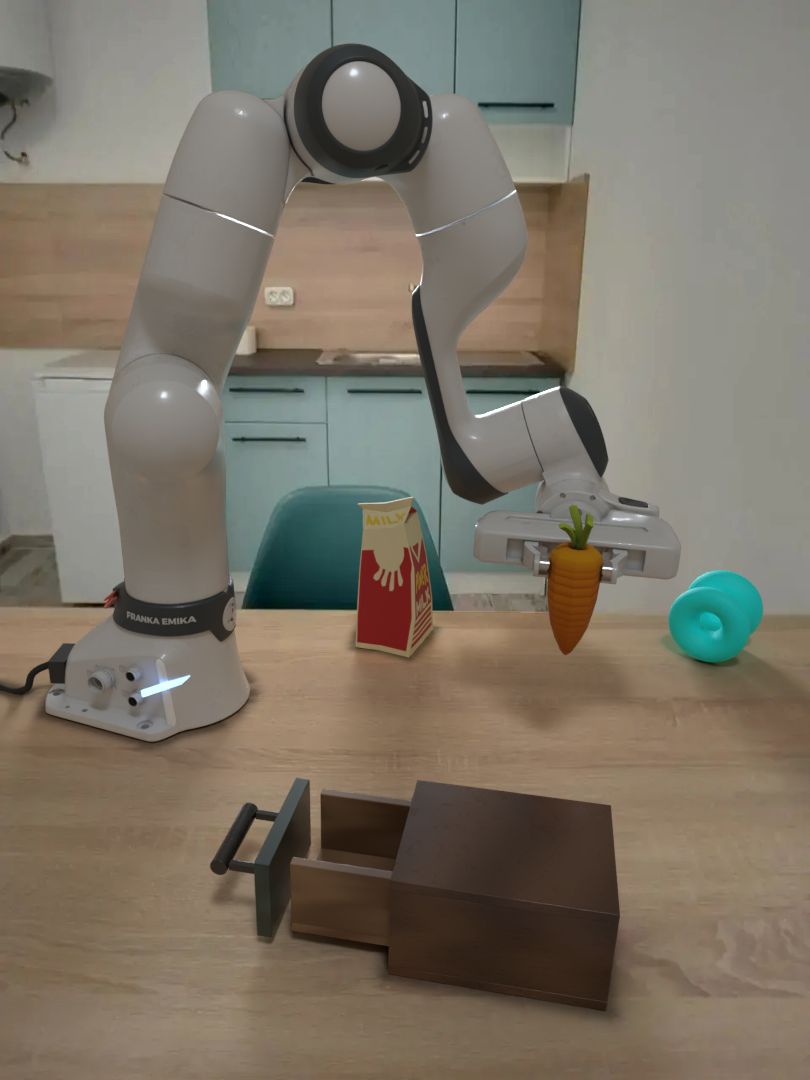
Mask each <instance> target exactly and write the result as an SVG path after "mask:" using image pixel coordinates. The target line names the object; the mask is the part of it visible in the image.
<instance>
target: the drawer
mask: <svg viewBox="0 0 810 1080" xmlns="http://www.w3.org/2000/svg"><path fill="white" fill-rule="evenodd" d="M319 795H320V799H319V800H320V846H321V847H320V850H319V853H318V855H317V858H316V859H310V858H307V855H308V853H309V850H310V848H311V846H312V831H311V830H312V829H311V780H310V779H309V778H303V777H295V779H294V781H293V783H292V786H291V787H290V789H289V791H288V793H287V796H286V798H285V800H284V802H283V803H282V806H281V808H280V810H279V812H278V811H271V810H265V809H259V807H258V806H257V805H256V803H253V802H245V803H243V805H242V807H241V808H240V810H239V812H238V814H237V815H236V817H235V819H234V821H233V823H232V824H231V827H230V828H229V829H228V832H227V833H226V835H225V837H224V838H223V841H222V843H221V844H220V845H219V847H218V849H217V851H216V853H215V854H214V856H213V858H212V860H211V861H210V864H209V868H210V871H211V872H212V873H213V874H215V875H217V876H223V875H226V874H227V872H228V871H232V872H237V873H244V874H250V875H253V876H254V877H253V879H254V896H255V898H254V899H255V901H254V902H255V920H256V935H257V937H264V938H268V939H273V937H274V934H275V932H276V929H277V927H278V926H279V922H280V920H281V918H282V915H283V912H284V910H285V908H286V905H287V903H288V901H289V899H290V912H291V913H290V914H291V915H290V916H291V918H290V919H291V931H292V932H297V933H305V934H311V935H317V936H324V937H330V938H335V939H342V940H348V941H354V942H358V943H359V942H360V943H366V944H372V945H378V946H383V947H389V915H390V880H391V876H392V872H393V868H394V865H395V861H396V857H397V854H398V850H399V846H400V842H401V839H402V835H403V831H404V828H405V824H406V820H407V816H408V813H409V809H410V805H411V802H412V799H411V800H410V799H402V798H395V797H388V796H380V795H373V794H367V793H360V792H359V793H358V792H352V791H351V792H350V791H345V790H336V789H328V788H322V789H321V792H320V794H319ZM255 820H257V821H258V820H259V821H264V822H265V821H266V822H273V824H272V826H271V827H270V830H269V832H268V833H267V836H266V837H265V840H264V842H263V844H262V846H261V848H260V849H259V852H258V853H257V856H256V858H255V859H254V862H253V861H252V862H251V861H244V860H238V859H235V857H236V856H237V853H238V852H239V850H240V848H241V846H242V844H243V842H244V841H245V839H246V837H247V835H248V833H249V831H250V829H251V827H252V825H253V823H254V821H255Z"/></svg>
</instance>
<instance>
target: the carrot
mask: <svg viewBox="0 0 810 1080" xmlns="http://www.w3.org/2000/svg"><path fill="white" fill-rule="evenodd" d="M569 510H570V514H571V517H572V520H573V523H574V528H571V526H570V525H568V524H566V523H560V524H559V528H560V529H562V530H563V531H565V532H566V533H567V534H568V535H569V537H570V539H571V542H564V543H562V544H560V545H559V546H557V547H556V548H554V549H553V550H552V551H551V553H550V557H549V559H550V565H549V575H548V578H547V588H546V589H547V590H546V591H547V593H546V595H547V597H546V598H547V607H548V609H547V610H548V618H549V623H550V627H551V631H552V634H553V637H554V639H555V641H556V644H557V646H558V649H559V651H560V652H561V653H562V654H563V655H564V656H568V655H569V654H571V653H572V652H573V651H574V650H575V648H576V647H577V646H578V644H579V643H580V642H581V640H582V638H583V637H584V635H585V633H586V631H587V629H588V627H589V624H590V622H591V619H592V616H593V614H594V610H595V607H596V604H597V601H598V596H599V590H600V585H601V583H600V577H601V569H602V564H603V557H602V555H601V554H600V553H599V551H597V550H596V549H595V548H594V547H593V546H591V545H589V544H586V543H587V540H588V538H589V535H590V533H591V529H592V528H593V526H594V523H593V516H592V515H590V514H586V519H585V527H584V529H583V527H582V521H581V517H580V513H579V510H578V507H577V505H571V506H570V507H569Z"/></svg>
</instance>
